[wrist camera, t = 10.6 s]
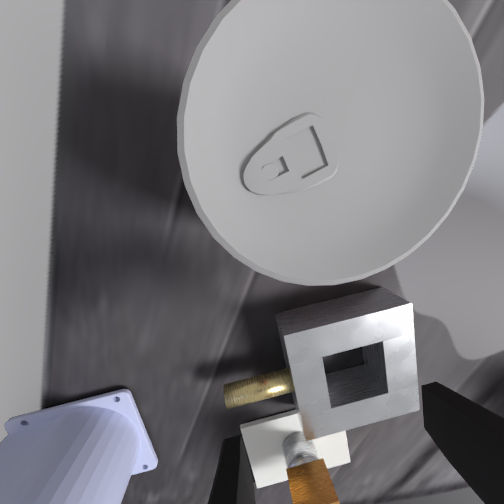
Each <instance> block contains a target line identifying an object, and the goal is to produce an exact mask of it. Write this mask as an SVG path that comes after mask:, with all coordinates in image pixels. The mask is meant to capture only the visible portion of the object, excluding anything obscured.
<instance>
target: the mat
mask: <svg viewBox="0 0 504 504" xmlns="http://www.w3.org/2000/svg"><path fill="white" fill-rule="evenodd" d="M240 429H241V433H242V436H243V440H244V443H245V447H246V450H247V454H248V457H249V461H250V464H251V468H252V471H253V475H254V478H255V481H256V485H257V488H261V487H264V486H268V485H272V484H275V483H279V482H282V481H286V480H288V476H287V471H286V468H287V467H286V463H285V458H284V453H283V449H282V443H283V441H284V439H285V438H286V437H287V436H288V435H289V434H291V433H294V432H298V431H302V432H303V430H302V427H301V424H300V421H299V418H298V415H297V412H296V410H292V411H289V412H285V413H281V414H278V415H274V416H270V417H267V418H263V419H259V420H255V421H252V422H248V423H244V424H241V425H240ZM313 443H314V445H315V448H316V451H317V454H318V457H319V459H322V458H323V459H324V462H325V464H326V467H327V469H328V468H332V467H335V466H339V465H342V464H346V463H349V462H350V456H349V450H348V444H347V437H346V431H342V432H338V433H335V434H331V435H327V436H324V437H320V438H317V439H313Z"/></svg>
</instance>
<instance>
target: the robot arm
mask: <svg viewBox="0 0 504 504" xmlns="http://www.w3.org/2000/svg"><path fill="white" fill-rule="evenodd" d="M116 397H119V398H116ZM422 401H423V416H424V428H425V429H426V431H427V432H428V433H429V435H430V436H431V438H432V439H433V441H434V442H435V443H436V445H437V446H438V448H439V449H440V450H441V452H442V453H443V454H444V456H445V457H446V458H447V460H448V461H449V462H450V463H451V465H452V466H453V467H454V468H455V469H456V470H457V472H458V473H459V474H460V475H461V476H462V477H463V479H464V480H465V481H466V482H467V483H468V485H469V486H470V487H471V488H472V489H473V490H474V492H475V493H476V494H477V495H478V496H479V497H480V498H481V500H482V501H483V502H484V503H485V504H504V418H502V417H500V416H498V415H496V414H494V413H493V412H491V411H489V410H487V409H485V408H483V407H482V406H480V405H478V404H476V403H474V402H472V401H471V400H469V399H467V398H465V397H463V396H462V395H460V394H458V393H456V392H454V391H453V390H451V389H449V388H447V387H445V386H443V385H442V384H440V383H438V382H433V383H430V384H426V385H422ZM5 429H6V430H7V432H8V435H7V437H5V438H4V440H3V441H2V442H1V443H0V504H121V502H122V499H123V496H124V493H125V491H126V488H127V485H128V482H129V480H130V477H131V475H134V474H138V473H141V472H145V471H149V470H152V469H154V468H156V466H157V463H158V459H157V456H156V454H155V451H154V449H153V446H152V444H151V441H150V439H149V436H148V434H147V431H146V429H145V426H144V424H143V421H142V419H141V416H140V414H139V411H138V409H137V406H136V404H135V401H134V399H133V396H132V394H131V392H130V391H129V390H128V389H121V390H117V391H113V392H109V393H105V394H101V395H97V396H94V397H90V398H86V399H82V400H78V401H74V402H70V403H66V404H62V405H58V406H55V407H51V408H47V409H43V410H39V411H35V412H31V413H28V414H23V415H20V416H16V417H12V418H10V419H9V420H8V421H7V422H6V423H5ZM208 504H256V503H255V494H254V485H253V477H252V473H251V469H250V466H249V462H248V459H247V455H246V452H245V448H244V445H243V441H242V438H241V435H238V436H235V437H231V438H227V439H225V440H224V441H223V443H222V448H221V453H220V458H219V462H218V466H217V471H216V475H215V478H214V482H213V486H212V490H211V494H210V497H209V501H208Z"/></svg>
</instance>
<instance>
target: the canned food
mask: <svg viewBox="0 0 504 504" xmlns="http://www.w3.org/2000/svg"><path fill="white" fill-rule="evenodd" d="M483 112H484V93H483V84H482V76H481V68H480V64H479V61H478V58H477V55H476V52H475V49H474V46H473V43H472V39H471V36H470V35H469V33H468V31H467V29H466V28H465V26H464V24H463V22H462V20H461V19H460V17H459V15H458V13H457V12H456V10H455V8H454V7H453V6H452V5H451V4H450V3H449V2H448V0H231V1H230V2H229V3H228V4H227V5H226V6H225V7H224V9H223V10H222V11H221V12H220V13H219V14H218V15H217V16H216V17H215V19H214V21H213V22H212V24H211V25H210V27H209V29H208V30H207V32H206V33H205V35H204V36H203V38H202V40H201V41H200V43H199V44H198V46H197V48H196V50H195V53H194V55H193V58H192V60H191V63H190V66H189V68H188V71H187V74H186V76H185V79H184V81H183V86H182V92H181V97H180V103H179V109H178V114H177V152H178V157H179V162H180V167H181V171H182V176H183V181H184V185H185V187H186V190H187V192H188V194H189V197H190V199H191V201H192V204H193V206H194V208H195V211H196V213H197V214H198V216H199V217H200V219H201V220H202V222H203V223H204V225H205V226H206V228H207V229H208V230H209V232H210V233H211V235H212V236H213V238H214V239H215V240H216V241H217V242H219V243H220V244H221V245H222V246H223V247H224V248H225V249H226V250H227V251H228V252H229V253H230V254H231V255H232V256H233V257H234V258H236V259H237V260H239V261H241V262H242V263H244V264H245V265H247V266H248V267H250V268H252V269H253V270H255V271H256V272H259V273H261V274H264V275H267V276H269V277H272V278H274V279H277V280H280V281H283V282H289V283H295V284H301V285H307V286H317V285H337V284H342V283H346V282H351V281H356V280H361V279H363V278H365V277H368V276H370V275H373V274H375V273H378V272H380V271H383V270H385V269H387V268H389V267H390V266H392V265H393V264H395V263H397V262H398V261H400V260H402V259H403V258H405V257H406V256H408V255H409V254H410V253H412V252H413V251H414V250H415V249H416V248H418V247H419V246H420V245H421V244H422V243H423V242H424V241H426V240H427V239H428V238H429V237H430V236H431V235H432V234H433V233H434V231H435V230H436V229H437V228H438V227H439V225H440V224H441V223H442V222H443V221H444V220H445V218H446V217H447V216H448V215H449V213H450V212H451V210H452V208H453V207H454V205H455V203H456V202H457V200H458V198H459V197H460V195H461V193H462V192H463V190H464V188H465V185H466V183H467V180H468V178H469V176H470V173H471V171H472V168H473V166H474V163H475V161H476V156H477V152H478V148H479V143H480V139H481V135H482V130H483Z"/></svg>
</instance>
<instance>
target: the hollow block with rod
mask: <svg viewBox="0 0 504 504" xmlns="http://www.w3.org/2000/svg"><path fill="white" fill-rule="evenodd" d="M275 318H276V322H277V327H278V332H279V336H280V341H281V346H282V350H283V355H284V359H285V364H286V368H285V369H281V370H277V371H274V372H270V373H266V374H262V375H258V376H254V377H251V378H247V379H243V380H239V381H235V382H231V383H228V384H224V399H225V404H226V407H227V409H230V408H234V407H238V406H241V405H245V404H249V403H253V402H256V401H260V400H264V399H268V398H271V397H275V396H279V395H283V394H286V393H290V392H292V396H293V401H294V406H295V409H296V412H297V415H298V418H299V421H300V424H301V427H302V430H303V434H304V437H305V440H306V441H309V440H313V439H317V438H320V437H324V436H327V435H331V434H335V433H338V432H342V431H346V430H349V429H353V428H356V427H360V426H364V425H367V424H371V423H374V422H378V421H382V420H385V419H389V418H393V417H396V416H400V415H403V414H407V413H411V412H414V411H418V410H420V408H419V394H418V380H417V366H416V352H415V337H414V323H413V309H412V303H411V302H409V301H407V300H405V299H403V298H402V297H400V296H398V295H396V294H394V293H392V292H391V291H389V290H387V289H385V288H383V287H379V288H375V289H371V290H367V291H363V292H359V293H355V294H351V295H347V296H343V297H339V298H335V299H331V300H327V301H323V302H319V303H315V304H311V305H307V306H303V307H299V308H295V309H291V310H287V311H283V312H279V313H275ZM359 347H362V352H363V360H364V364H361V365H358V366H354V367H350V368H346V369H343V370H339V371H335V372H331V373H327V374H325V370H324V364H323V358H322V357H324V356H328V355H332V354H336V353H339V352H343V351H347V350H351V349H355V348H359Z"/></svg>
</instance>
